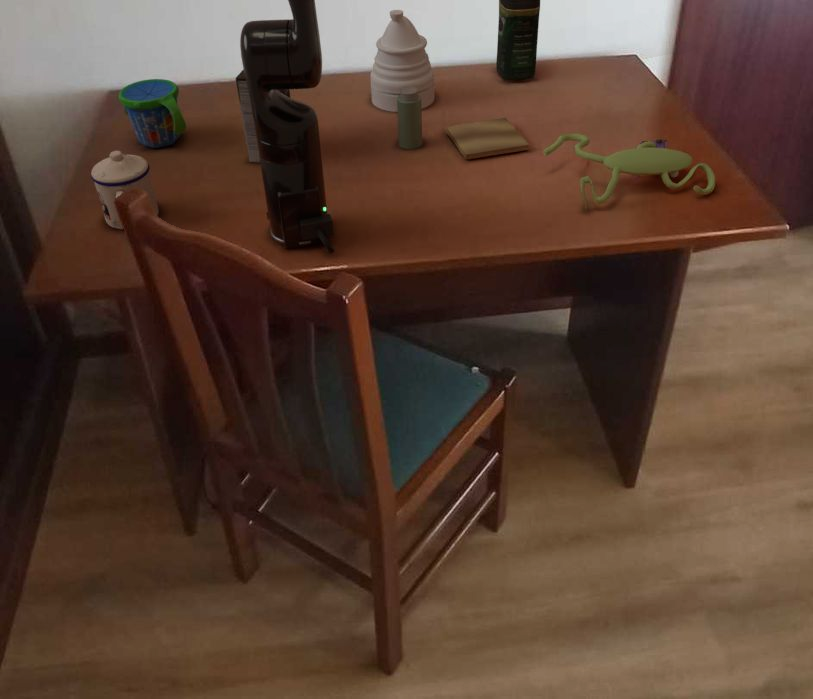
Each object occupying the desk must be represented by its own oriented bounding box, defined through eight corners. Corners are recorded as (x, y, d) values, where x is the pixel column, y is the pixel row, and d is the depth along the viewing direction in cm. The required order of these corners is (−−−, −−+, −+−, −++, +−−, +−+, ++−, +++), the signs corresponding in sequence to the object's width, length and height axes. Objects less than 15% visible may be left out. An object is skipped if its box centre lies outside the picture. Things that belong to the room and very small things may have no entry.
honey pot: (423, 115, 171) (421, 22, 159) (362, 108, 174) (356, 17, 163) (442, 89, 180) (441, 0, 169) (383, 83, 183) (379, -5, 172)
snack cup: (114, 137, 167) (101, 86, 161) (161, 119, 173) (150, 70, 166) (157, 163, 159) (145, 110, 152) (206, 143, 164) (196, 92, 158)
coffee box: (264, 140, 165) (252, 56, 154) (297, 142, 163) (286, 58, 153) (248, 162, 158) (234, 77, 147) (281, 165, 157) (270, 79, 146)
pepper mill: (425, 147, 160) (424, 93, 154) (402, 150, 159) (400, 96, 153) (418, 137, 163) (417, 83, 157) (396, 140, 163) (393, 87, 156)
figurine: (536, 161, 155) (538, 132, 151) (680, 146, 157) (685, 117, 154) (566, 214, 140) (569, 183, 137) (724, 196, 143) (731, 166, 139)
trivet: (528, 151, 158) (529, 144, 157) (465, 161, 155) (465, 154, 154) (505, 124, 167) (505, 117, 166) (445, 133, 164) (445, 126, 163)
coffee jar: (539, 81, 181) (545, -10, 170) (502, 84, 181) (505, -8, 169) (528, 64, 189) (534, -25, 177) (492, 67, 188) (496, -23, 176)
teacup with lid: (107, 206, 147) (88, 143, 140) (161, 200, 148) (146, 137, 141) (100, 244, 138) (80, 178, 130) (158, 237, 139) (142, 171, 132)
